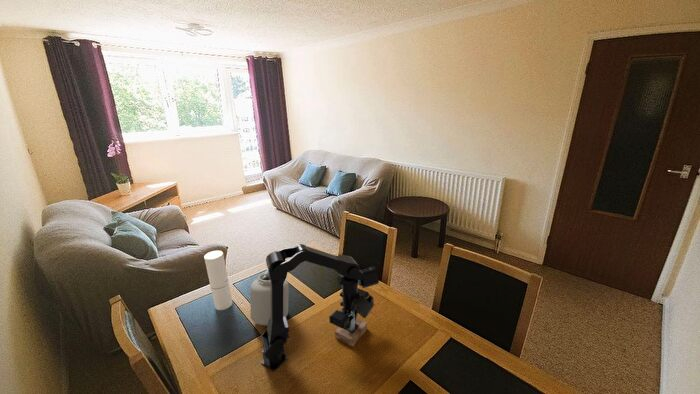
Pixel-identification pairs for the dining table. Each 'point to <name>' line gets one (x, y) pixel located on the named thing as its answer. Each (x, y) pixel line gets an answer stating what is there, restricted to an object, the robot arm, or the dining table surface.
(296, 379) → the dining table surface
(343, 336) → the socket block
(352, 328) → the dowel
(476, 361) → the dining table surface
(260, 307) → the jar
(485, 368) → the dining table surface
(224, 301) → the cylindrical container
